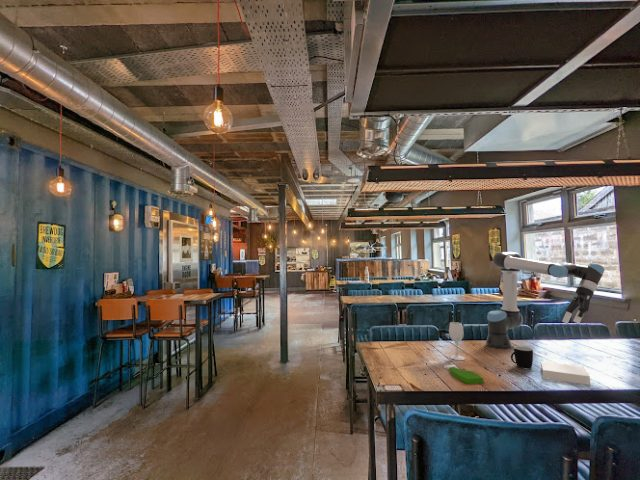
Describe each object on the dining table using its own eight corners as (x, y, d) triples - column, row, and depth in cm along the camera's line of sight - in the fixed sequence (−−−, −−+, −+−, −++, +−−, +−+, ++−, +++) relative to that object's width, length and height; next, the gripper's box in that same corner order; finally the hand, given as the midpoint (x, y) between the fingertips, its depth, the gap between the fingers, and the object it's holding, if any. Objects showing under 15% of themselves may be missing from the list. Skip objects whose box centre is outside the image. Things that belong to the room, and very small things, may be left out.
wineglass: (447, 356, 195) (445, 322, 197) (460, 355, 196) (458, 321, 197) (454, 360, 186) (452, 324, 188) (468, 360, 187) (466, 324, 189)
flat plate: (543, 378, 157) (542, 369, 157) (541, 368, 171) (540, 361, 171) (590, 385, 148) (589, 376, 148) (584, 374, 161) (583, 366, 161)
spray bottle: (465, 385, 151) (439, 369, 175) (486, 384, 152) (457, 367, 176) (465, 379, 151) (439, 363, 175) (486, 377, 152) (457, 362, 177)
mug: (525, 363, 179) (524, 345, 180) (538, 369, 170) (536, 350, 171) (506, 365, 177) (504, 346, 178) (518, 370, 169) (516, 351, 169)
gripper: (606, 290, 166) (589, 326, 164) (582, 294, 189) (567, 325, 187) (590, 283, 168) (573, 318, 166) (568, 288, 191) (553, 319, 190)
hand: (570, 322), depth 177 cm, fingers open, 13 cm apart
